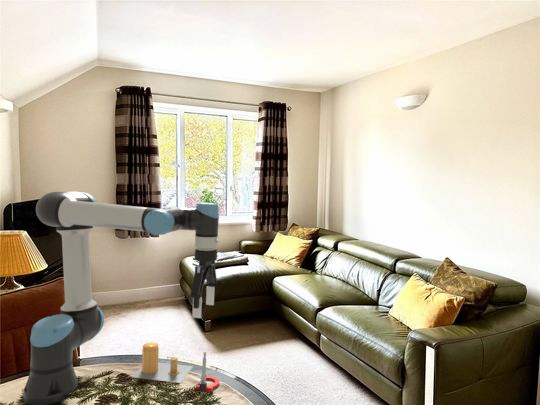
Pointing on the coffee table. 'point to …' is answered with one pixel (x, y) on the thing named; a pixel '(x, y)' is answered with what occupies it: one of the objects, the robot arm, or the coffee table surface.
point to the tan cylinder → (150, 357)
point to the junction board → (166, 372)
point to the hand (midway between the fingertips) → (203, 310)
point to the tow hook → (203, 384)
